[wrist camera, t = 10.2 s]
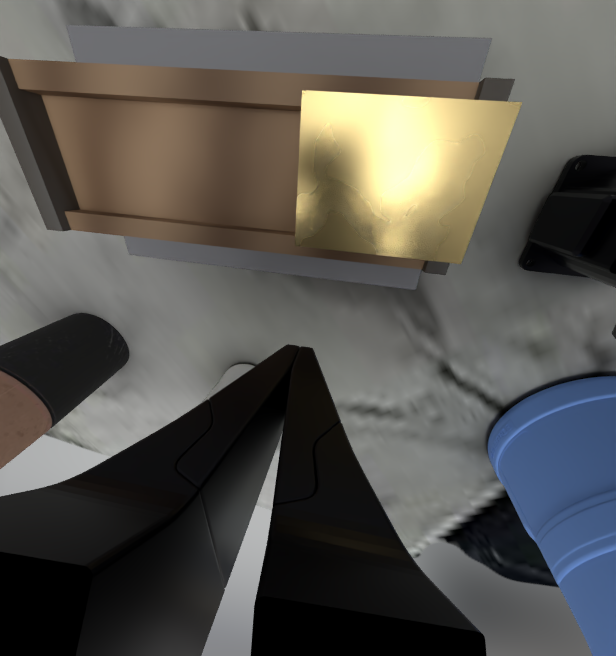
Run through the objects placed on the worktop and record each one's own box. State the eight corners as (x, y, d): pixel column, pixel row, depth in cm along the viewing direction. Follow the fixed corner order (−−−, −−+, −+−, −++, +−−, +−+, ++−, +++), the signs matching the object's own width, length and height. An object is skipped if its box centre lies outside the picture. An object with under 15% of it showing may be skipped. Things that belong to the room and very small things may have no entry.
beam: (483, 98, 11) (514, 79, 9) (431, 261, 15) (445, 274, 13) (35, 73, 13) (-27, 53, 11) (85, 223, 17) (47, 229, 15)
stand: (485, 45, 13) (525, 4, 10) (413, 286, 20) (424, 305, 17) (78, 32, 15) (9, -6, 12) (136, 252, 22) (100, 264, 19)
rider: (456, 132, 11) (522, 102, 7) (425, 237, 13) (461, 264, 9) (320, 123, 12) (302, 90, 7) (312, 226, 14) (294, 245, 10)
